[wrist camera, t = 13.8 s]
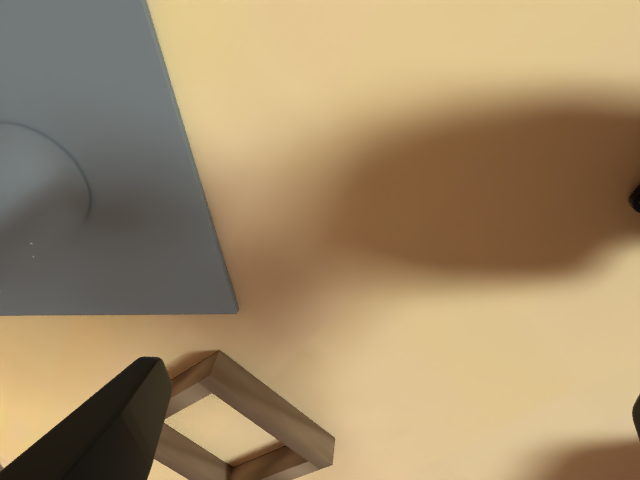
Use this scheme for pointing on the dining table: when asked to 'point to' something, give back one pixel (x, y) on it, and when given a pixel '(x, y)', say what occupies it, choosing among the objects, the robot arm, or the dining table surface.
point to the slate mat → (110, 165)
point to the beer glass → (35, 196)
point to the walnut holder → (258, 406)
